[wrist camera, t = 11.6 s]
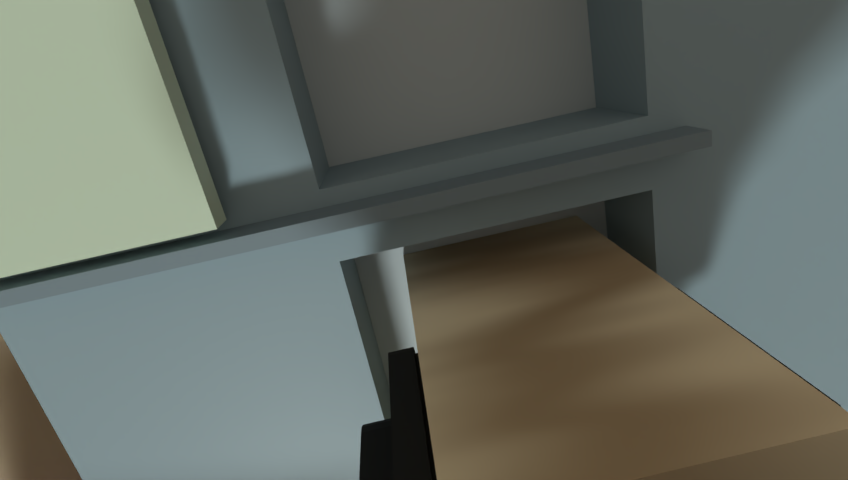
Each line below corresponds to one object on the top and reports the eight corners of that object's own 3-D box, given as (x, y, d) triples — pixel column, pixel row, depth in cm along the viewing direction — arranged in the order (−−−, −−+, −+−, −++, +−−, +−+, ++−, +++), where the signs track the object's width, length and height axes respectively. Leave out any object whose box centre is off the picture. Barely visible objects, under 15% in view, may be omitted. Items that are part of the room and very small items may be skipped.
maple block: (576, 215, 13) (864, 424, 5) (592, 364, 14) (836, 696, 7) (402, 255, 13) (443, 524, 5) (437, 400, 14) (508, 776, 7)
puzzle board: (776, -303, 10) (991, -501, 7) (760, 357, 16) (876, 443, 12) (-105, -123, 10) (-378, -234, 6) (187, 494, 15) (130, 626, 12)
